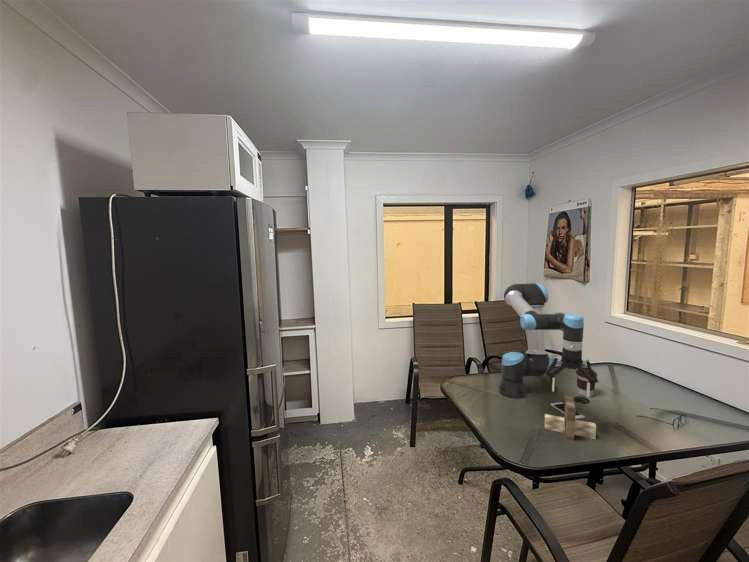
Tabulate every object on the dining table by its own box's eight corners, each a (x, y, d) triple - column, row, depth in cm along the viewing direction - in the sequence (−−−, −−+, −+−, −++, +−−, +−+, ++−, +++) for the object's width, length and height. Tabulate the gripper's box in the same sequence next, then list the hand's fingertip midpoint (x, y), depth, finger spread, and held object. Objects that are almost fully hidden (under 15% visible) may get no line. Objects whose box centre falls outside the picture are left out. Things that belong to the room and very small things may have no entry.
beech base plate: (544, 428, 148) (545, 417, 148) (544, 425, 151) (544, 413, 150) (595, 439, 139) (596, 426, 139) (594, 435, 142) (595, 423, 141)
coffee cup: (589, 390, 184) (590, 366, 182) (599, 398, 174) (601, 373, 173) (571, 390, 185) (572, 366, 183) (581, 398, 175) (582, 372, 174)
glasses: (674, 431, 144) (673, 421, 144) (635, 420, 157) (634, 410, 157) (687, 422, 150) (686, 412, 150) (648, 412, 163) (648, 402, 163)
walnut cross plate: (574, 440, 139) (575, 408, 138) (566, 438, 141) (567, 407, 139) (571, 426, 150) (572, 396, 148) (563, 424, 151) (565, 395, 150)
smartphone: (573, 420, 155) (573, 418, 155) (550, 405, 170) (550, 403, 170) (585, 418, 157) (585, 416, 157) (561, 403, 172) (561, 401, 172)
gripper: (541, 347, 143) (539, 391, 146) (607, 355, 132) (604, 402, 135) (540, 342, 150) (539, 384, 152) (604, 349, 138) (601, 394, 141)
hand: (570, 393), depth 144 cm, fingers open, 13 cm apart
